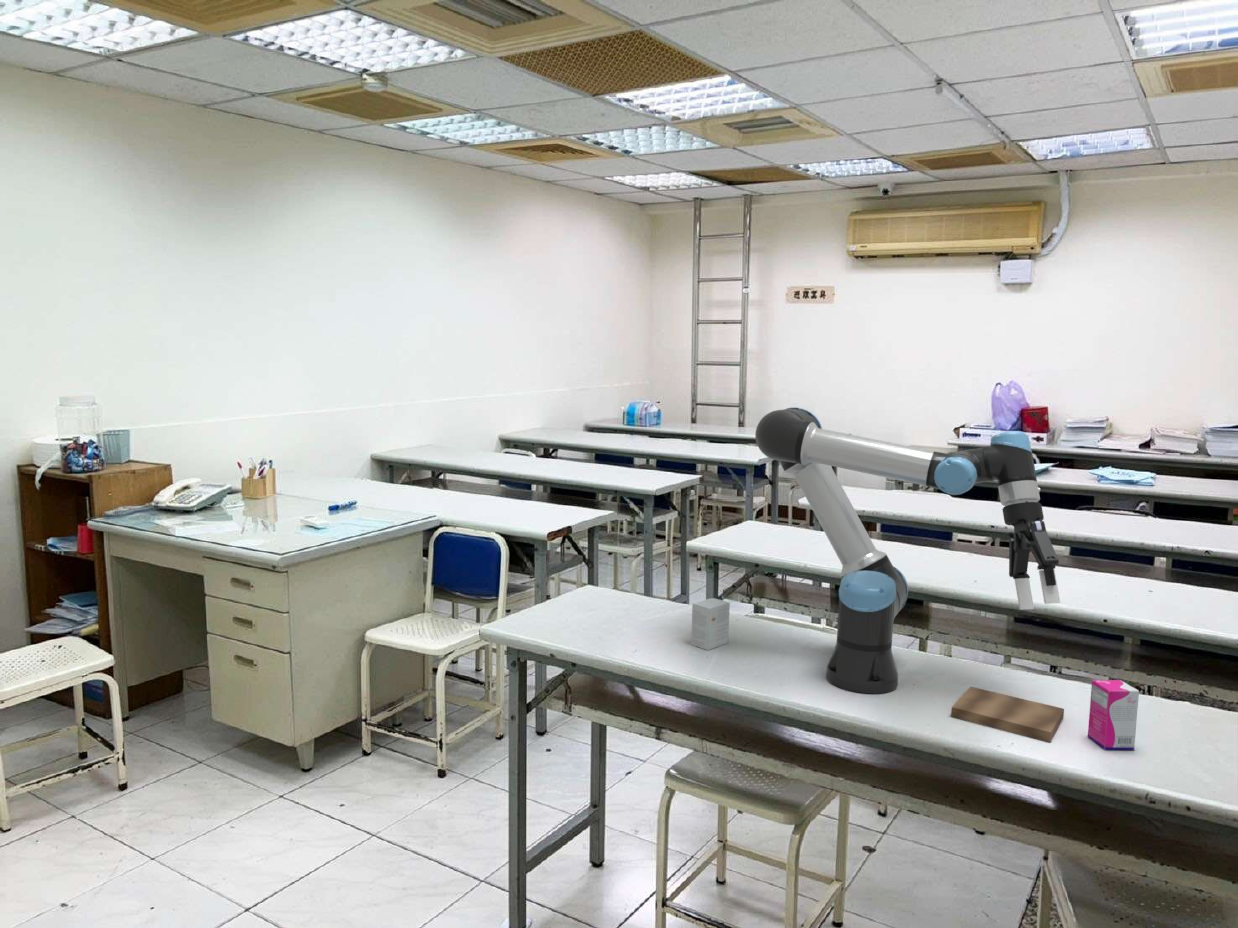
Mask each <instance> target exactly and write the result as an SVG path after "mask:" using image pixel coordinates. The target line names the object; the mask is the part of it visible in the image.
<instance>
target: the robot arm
mask: <svg viewBox="0 0 1238 928" xmlns="http://www.w3.org/2000/svg"><path fill="white" fill-rule="evenodd" d="M754 435H755V442H756V445H757V447H758V449H759V450H760V452H761V453H762V454H763V455H764V456H766V457H768V458H769V459H771V460H775V461H777V462H778V463H779V464H780V465H781V468H782V469H783V471H784V473H786V474H789V475H792V476H794V478H795V479H796V482H797V484H798V485H799V487H800V490H802V493H803V495H804V497H805V498H806V500H807V502H808V504H809V506H810V508H811V509H812V512H813V514H814V515H815V517H816V520H817V521H818V523H819V525H820V527H821V529H822V531H823V532H824V534H825V536H826V537H827V539H828V541H829V543H830V546H832V549H833V551H834V552H835V554H836V556H837V558H838V560H839V561H840V564H841V565H842V566H841V572H840V577H841V580H840V585H839V587H838V596H839V597H838V612H837V613H838V614H837V629H836V630H837V632H836V643H835V646H834V649H833V651H832V653H831V656H830V658H829V661H828V663H827V665H826V673H825V674H826V679H827V680H828V682H829V683H831V684H832V685H834V686H836V687H838V688H841V689H843V690H846V691H847V690H848V691H850V692H854V693H855V692H856V693H862V694H884V693H890V692H893V691H894V690H896V689H897V688H898V683H899V682H898V681H899V673H898V670H897V665H896V662H895V659H894V654H893V650H892V648H893V647H892V646H893V633H894V621H895V618H896V617H897V615H898V614H899V612H901V611H902V610H903V609H904V607H905V606H906V603H907V600H908V594H909V586H908V582H907V579H906V577H905V576H904V574H903V572H902V571H901V570H900V569H898V568H897V567H895V566H894V565H893V564H892V561H891V560H890V558H889V556H888V554H887V553H886V552H884V551H882V550H878V549H876V546H875V544H874V543H873V541H872V539H871V537H870V535H869V533H868V532H867V530H866V528H865V526H864V524H863V522H862V521H861V519H860V517H859V515H858V513H857V512H856V510H855V508H854V506H853V504H852V502H851V501H850V498H849V497H848V495H847V493H846V492H845V489H844V487H843V485H842V484H841V483H840V481H839V478H838V477H837V474H836V473H835V471H834V469H833V467H834V468H839V469H844V470H849V471H854V472H859V473H863V474H868V475H873V476H878V477H882V478H888V479H891V480H896V481H901V482H906V483H911V484H915V485H921V486H925V487H928V488H932V489H937V490H940V491H941V492H943V493H945V494H948V495H952V496H957V495H964V493H966V492H968V491H970V490H971V489H973V487H974V485H976V484H982V483H988V482H994V481H997V485H998V493H999V494H998V495H999V500H1000V504H1001V506H1004V507H1003V508H1002V509H1001V510H1002V515H1003V520H1004V524H1005V525H1006V526H1012V527H1013V531H1011V532H1008V533H1007V536H1008V543H1009V544H1008V546H1009V547H1008V552H1009V553H1008V557H1009V558H1008V575H1009V577H1010V578H1012V579H1013V580H1014V586H1015V591H1016V595H1017V601H1018V609H1019V611H1020V610H1034V609H1035V606H1034V601H1033V594H1032V589H1031V584H1030V578H1031V577H1030V575H1029V574H1028V568H1029V567H1028V566H1029V558H1030V553H1031V554H1032V555H1033V558H1034V559H1035V561H1036V562H1037V568H1036V569H1037V570H1038V575H1039V580H1040V584H1041V585H1040V586H1041V592H1042V596H1043V603H1044V604H1045V605H1046V604H1047V605H1049V604H1060V603H1061V598H1060V592H1059V588H1058V583H1057V582H1058V581H1057V578H1056V571H1055V569H1056V565H1059V559H1058V556H1057V554H1056V552H1055V549H1054V546H1053V543H1052V541H1051V539H1050V536H1049V535H1048V532H1047V529H1046V524H1045V521H1044V520H1045V518H1044V511H1043V506H1042V503H1040V500H1041V497H1040V492H1041V488H1040V487H1039V486H1038V480H1037V473H1036V467H1035V461H1034V456H1033V450H1032V448H1031V443H1030V438H1029V435H1028V434H1027V433H1026V432H1024V431H1021V430H1009V431H1003V432H1000V433H996V434H994V435H992V436H991V438H990V444H989V445H987V446H983V447H978V448H972V449H967V450H960V451H959V450H958V451H949V452H947V453H946V452H939V451H934V450H929V449H925V448H920V447H914V446H910V445H905V444H900V443H893V442H889V441H884V440H880V439H874V438H869V437H864V436H860V435H854V434H849V433H845V432H840V431H838V432H837V431H836V430H835V431H834V430H829V429H824V428H822V424H821V421H820V420H819V419H818V417H817V416H816V415H815V414H814V413H812V411H809V410H808V409H805V408H803V407H802V408H801V407H787V408H785V409H777V410H772V411H771V412H768V413H766V414H765V415H764V416H762V418H761V419H760V420H759V422H758V423H757V426H756V429H755V434H754Z"/></svg>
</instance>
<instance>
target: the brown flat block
mask: <svg viewBox="0 0 1238 928" xmlns="http://www.w3.org/2000/svg"><path fill="white" fill-rule="evenodd" d="M950 710H951V713H950V718H954V719H958V718H959V720H961V721H965V722H970V723H973V724H978V725H981V726H985V727H989V728H993V729H997V730H1000V731H1004V732H1008V733H1013V734H1016V735H1019V736H1024V737H1028V738H1030V739H1036V740H1039V741H1043V742H1047V743H1051V742H1052V740H1053V738H1054V736H1055V735H1056V733H1057V731H1058V729H1059V727H1060V726H1061V724H1062V721H1063V720H1064V715H1065V708H1063V707H1059V706H1054V705H1050V704H1046V703H1042V702H1037V701H1032V700H1029V699H1025V698H1020V697H1017V696H1012V695H1007V694H1004V693H999V692H995V691H992V690H986V689H984V688H983V689H982V688H979V687H974V686H969V687H968V688H967V689H966V691H964V693H963V694H962V695H960V697H959V698H958V699H957V701H956V702H955V703H954V704H953V705H951V709H950Z"/></svg>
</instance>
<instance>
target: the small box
mask: <svg viewBox="0 0 1238 928" xmlns="http://www.w3.org/2000/svg"><path fill="white" fill-rule="evenodd" d="M730 604H731V603H730V602H728V601H725V600H722V599H718V598H715V597H710V598H707V599H703V600H700V601H696V602H694V603H692V606H691V633H690V635H691V637H690V638H691V639H690V641H691V642H690V645H691V646H694V647H697V648H700V649H703V650H706V651H709V650H712V649H716V648H718V647H721V646H724V645H727V644H728V643H729V630H730V609H731V608H730Z"/></svg>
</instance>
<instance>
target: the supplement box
mask: <svg viewBox="0 0 1238 928" xmlns="http://www.w3.org/2000/svg"><path fill="white" fill-rule="evenodd" d="M1090 688H1091V689H1090V690H1091V691H1090V702H1089V714H1088V715H1089V717H1088V726H1087V737H1088V738H1089V739H1090V740H1091V741H1093V742H1094V743H1096V744H1097V745H1098V746H1099V747H1100V748H1101V749H1103V750H1104V751H1135V745H1136V744H1135V743H1136V733H1137V723H1138V722H1137V719H1138V708H1139V695H1140V691H1139V689H1137V688H1135V687H1133V686H1131V685H1129V684H1128V683H1126V682H1125V681H1123V680H1120V679H1119V680H1118V679H1113V680H1112V679H1111V680H1110V679H1109V680H1107V679H1101V680H1100V679H1092V680H1091V687H1090Z"/></svg>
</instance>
